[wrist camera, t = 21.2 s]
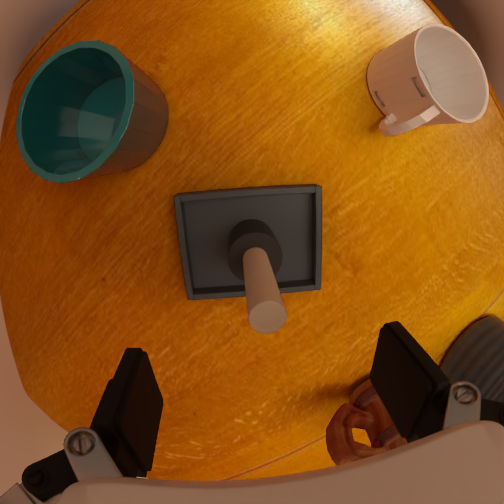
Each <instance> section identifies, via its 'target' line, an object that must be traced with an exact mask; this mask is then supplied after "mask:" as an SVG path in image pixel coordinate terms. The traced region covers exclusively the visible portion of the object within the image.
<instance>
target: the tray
mask: <svg viewBox="0 0 504 504" xmlns="http://www.w3.org/2000/svg"><path fill="white" fill-rule="evenodd" d="M174 204H175V213H176V222H177V230H178V238H179V245H180V253H181V260H182V266H183V273H184V280H185V286H186V292H187V298H188V300H200V299H216V298H231V297H244V296H246V290H245V282H243V281H241V280H239V279H238V278H237V277H235V276H234V274H233V273H232V272H231V270H230V268H229V265H228V242H229V235H230V233H231V231H232V229H233V228H234V227H235V226H236V225H237V224H238V223H240V222H241V221H244V220H248V219H256V220H260V221H262V222H264V223H266V224H267V225H268V226H269V227H270V228H271V230H272V232H273V234H274V236H275V237H276V239H277V241H278V243H279V245H280V247H281V250H282V255H283V260H282V265H281V267H280V269H279V271H278V273H277V274H276V275H275V279H276V282H277V285H278V288H279V291H280V293H291V292H301V291H311V290H320V289H321V264H322V186H319V185H316V184H305V185H280V186H262V187H246V188H232V189H219V190H207V191H197V192H186V193H178V194H176V195H175V196H174Z"/></svg>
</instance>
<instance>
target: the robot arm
mask: <svg viewBox="0 0 504 504" xmlns="http://www.w3.org/2000/svg"><path fill="white" fill-rule="evenodd" d="M370 381H371V383H372V385H373V387H374V389H375V390H376V392H377V394H378V396H379V398H380V399H381V401H382V403H383V405H384V406H385V408H386V410H387V412H388V414H389V415H390V417H391V419H392V421H393V423H394V425H395V426H396V428H397V430H398V432H399V434H400V436H401V437H402V438H405V439H406V440H407V442H408V443H409V444H406V445H403V446H400V447H398V448H395V449H392V450H389V451H386V452H383V453H380V454H377V455H374V456H371V457H367V458H364V459H360V460H357V461H353V462H349V463H345V464H341V465H337V466H333V467H328V468H324V469H319V470H314V471H309V472H303V473H297V474H291V475H284V476H277V477H268V478H259V479H247V480H231V481H176V480H158V479H144V478H136V477H146V475H147V471H151V469H152V463H153V457H154V452H155V446H156V440H157V435H158V429H159V424H160V419H161V414H162V408H163V398H162V395H161V392H160V390H159V387H158V384H157V381H156V379H155V376H154V373H153V370H152V367H151V364H150V361H149V358H148V355H147V353H146V352H143V351H142V349H141V348H126V350H125V352H124V354H123V357H122V359H121V361H120V364H119V366H118V368H117V370H116V373H115V375H114V377H113V379H111V380H109V382H108V384H107V386H106V389H105V391H104V393H103V396H102V398H101V401H100V403H99V405H98V408H97V410H96V413H95V415H94V418H93V421H92V423H91V426H90V428H86V427H80V428H77V429H74V430H72V431H70V432H69V433H68V435H67V436H66V437H65V439H64V444H63V445H64V449H63V450H61V451H59V452H57V453H55V454H53V455H51V456H49V457H47V458H45V459H42V460H40V461H38V462H36V463H33V464H31V465H29V466H28V467H27V468H26V469H25V470H24V472H23V474H22V483H21V484H18V483H16V484H15V485H14V486H12V487H11V488H10V489H9V490H8V491H7V492H5V494H3V495H2V496H1V497H0V504H504V403H503V402H498V401H493V400H488V399H484V398H481V393H480V391H479V389H478V388H477V387H476V386H475V385H474V384H472V383H470V382H467V381H459V382H456V383H454V384H453V385H451V384H450V383H449V381H450V380H449V379H448V377H447V376H446V375H445V374H444V373H443V371H442V370H441V369H440V368H439V367H438V366H437V364H436V363H435V362H434V361H433V360H432V358H431V357H430V356H429V355H428V354H427V353H426V352H425V350H424V349H423V348H422V347H421V346H420V345H419V344H418V342H417V341H416V340H415V339H414V338H413V337H412V336H411V335H410V333H409V332H408V331H407V330H406V329H405V328H404V327H403V326H402V325H401V323H400V322H398V321H394V322H390V323H385V324H384V326H383V327H382V328H381V329H380V333H379V338H378V342H377V347H376V352H375V356H374V360H373V365H372V369H371V373H370ZM418 439H419V440H418ZM416 440H417V441H416ZM413 441H414V442H413Z"/></svg>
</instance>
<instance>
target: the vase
mask: <svg viewBox="0 0 504 504" xmlns="http://www.w3.org/2000/svg"><path fill="white" fill-rule="evenodd" d="M440 369H441V370H442V371H443V373H444V374H445V375H446V376H447V377H448V379H449V380H450V381H449V383H450V384H451V385H453V384H454V383H456V382H459V381H467V382H470V383H472V384H474V385H475V386H476V387H477V388H478V389H479V391H480V393H481V398H484V399H488V400H493V401H498V402H503V403H504V322H503V321H502V320H501V319H500V318H498V317H496V316H489V317H486V318H483V319H480V320H478V321H477V322H475V323H474V324H472V325H471V326H470V327H468V328H467V329H466V330H465V331H464V332H463V333H462V334H461V335H460V336H459V338H458V339H457V340H456V341H455V342H454V344H453V345H452V347H451V348H450V349H449V351H448V353H447V354H446V356H445V358H444V360H443V362H442V364H441V367H440Z"/></svg>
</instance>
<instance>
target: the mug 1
mask: <svg viewBox="0 0 504 504" xmlns="http://www.w3.org/2000/svg"><path fill="white" fill-rule="evenodd" d="M350 403H351V404H348V403H345V404H343V405H342V406H341V407H340V408H339V409H338V410H337V411H336V413H335V414H334V416H333V418H332V419H331V421H330V423H329V425H328V426H327V429H326V444H327V449H328V452H329V454H330V456H331V458H332V460H333V461H334V463H335V464H336V465H341V464H345V463H349V462H353V461H357V460H360V459H364V458H367V457H371V456H374V455H377V454H380V453H383V452H386V451H389V450H392V449H395V448H398V447H400V446H403V445H406V444H409V443H408V442H407V440H406V439H405V438H402V437H401V436H400V434H399V432H398V430H397V428H396V426H395V425H394V423H393V421H392V419H391V417H390V415H389V414H388V412H387V410H386V408H385V406H384V405H383V403H382V401H381V399H380V398H379V396H378V394H377V392H376V390H375V389H374V387H373V385H372V383H371V381H370V379H368V380H367V381H365V382H364V383H362V384H361V385H359V386H358V387H357V388H356V389H355V390H354V391H353V393H352V394H351V397H350ZM353 427H355V428H360V429H365V430H366V432H367V434H368V437H369V439H370V442H371V447H370V446H367V445H364V444H361V443H358V442H355V441H354V439H353V435H352V428H353ZM418 440H419V439H418ZM416 441H417V440H416ZM413 442H414V441H413Z"/></svg>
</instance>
